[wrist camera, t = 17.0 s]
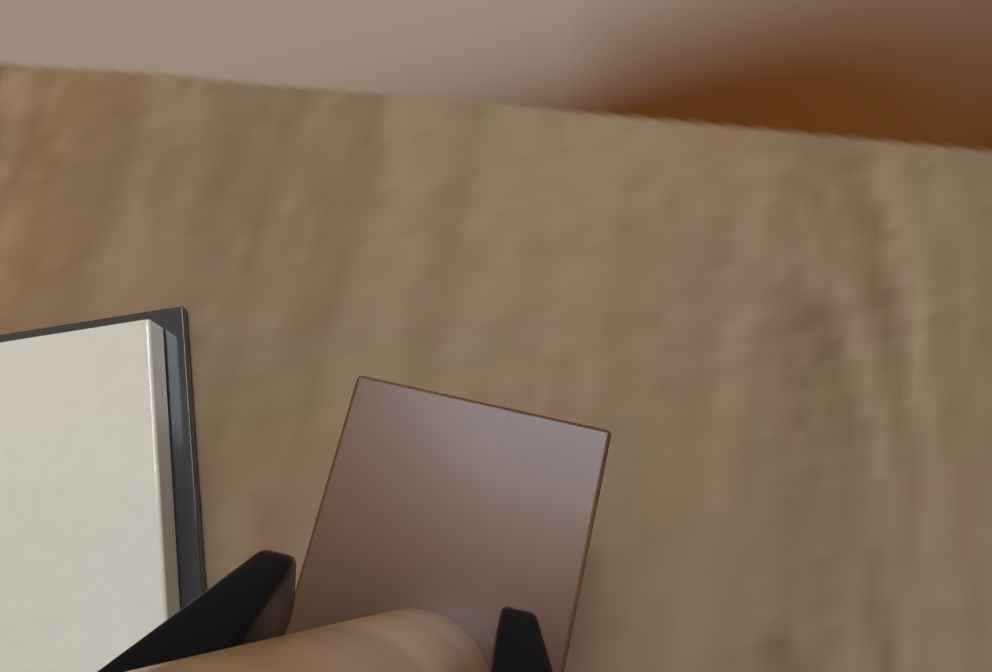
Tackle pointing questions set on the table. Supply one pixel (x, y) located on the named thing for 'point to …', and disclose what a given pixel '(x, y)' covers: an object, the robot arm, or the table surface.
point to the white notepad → (96, 489)
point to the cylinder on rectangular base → (435, 538)
